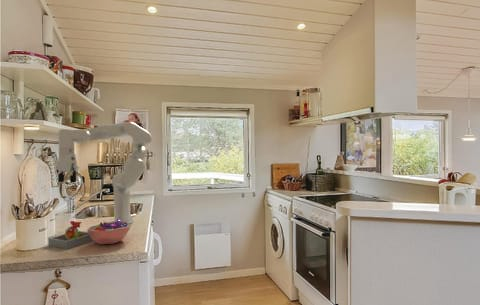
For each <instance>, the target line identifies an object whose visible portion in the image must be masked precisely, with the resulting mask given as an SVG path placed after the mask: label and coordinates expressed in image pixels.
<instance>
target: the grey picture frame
mask: <svg viewBox="0 0 480 305" xmlns="http://www.w3.org/2000/svg"><path fill="white" fill-rule="evenodd" d="M78 231H79V234H81V233H83V234H84V236H81V237H78V238H75V239H72V240H68V241H67V239H66V237H65V233H63V234H59V235H57V236H53V237H49V238H48V242H47V243H48V247H53V248H59V249H63V250H69V249H72V248H74V247H77V246H81V245H83V244H86V243H89V242H93V241H94V240H93V239H92V238H91V237H90V235H89V233H88V231H81V230H78ZM72 238H73V237H72Z"/></svg>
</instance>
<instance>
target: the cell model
mask: <svg viewBox="0 0 480 305" xmlns="http://www.w3.org/2000/svg"><path fill="white" fill-rule="evenodd" d="M131 228H132V223H126V222H122V221H121V220H120V219H117V222H112V221H110V222H107V221H104V222H100V223H99V224H96V225H93V226H90V227H88V229H87V232H88V233H89V235H90V237H91V238H92V239H93V241H94V242H96V243H97V244H99V245H113V244H117V243H119V242H122V241H123V240H125V238H126V237H127V235H128V233H129V231H130V229H131Z"/></svg>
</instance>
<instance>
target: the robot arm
mask: <svg viewBox="0 0 480 305" xmlns="http://www.w3.org/2000/svg"><path fill="white" fill-rule="evenodd" d="M126 136H127V137H128V136H130V138H132V142H133V143H132V144H133V150H132V152H131V154H130V155H129V156H128V158H127V159H126V160H125V162H124V164H123V170H124V172H118V173H115V175H113V178H112V188H113V216H114V217H113V218H114V219H113V220H112V221H111V222H117V219H120V220H121V221H122V222H126V223H130V224H132V223H134V220H133V218H136V216H137V215H136V213H133V214H132V213H131V191H130V190H131V189H132V188H133V187H134V186H135V185H136V183H137V182H138V181H139V179H140V178H141V176H142V175H143V173H144V172H145V166H146V164H145V162H144V159H146V156H147V155H148V154H147V153H148V147H147V146H148V145H150V144H151V142H152V140H153V137H152V135H151V134H150V132H148V131H147V130H146V129H144V128H142V127H141V126H139V125H138V124H137V123H136V122H135V123H134V122H133V121H126V122H119V123H112V124H111V123H110V124H105V125H99V126H96V127H92V128H91V127H90V128H84V129H82V128H81V129H69V128H68V129H67V128H62V129H59V130H58V157H57V165H56V166H55V169H56V173H57V176H58V178H57V181H58V183H62V182H65V174H64V173H69V174H70V175H69V182H70V183H76V182H77V175H78V172H79V171H78V170H79V169H80V168H79V166H78V163H77V156H76V153H75V143H78V144H80V143H81V144H82V143H87V142H91V141H99V140H100V141H103V140H109V139H115V138H122V137H126Z"/></svg>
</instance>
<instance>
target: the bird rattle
mask: <svg viewBox="0 0 480 305" xmlns="http://www.w3.org/2000/svg"><path fill="white" fill-rule="evenodd" d="M70 224H71V226H68V227H67V228H66V230H65V231H64V234H65V237H66V239H67V241H68V240H72V239H75V238H78V237H81V236H84V234H83V233H81V234H79V231H80V230H78V229H79V228H81V224H82V221H74V220H71V221H70ZM72 237H73V238H72Z"/></svg>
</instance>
